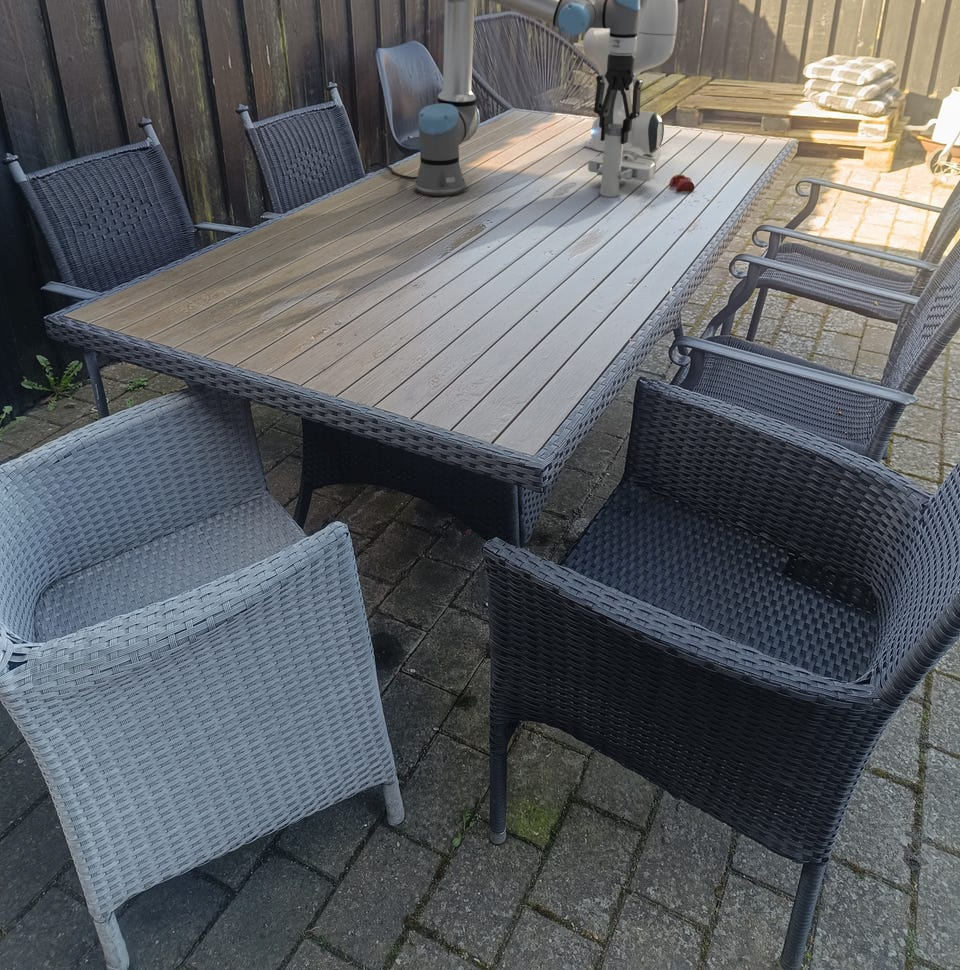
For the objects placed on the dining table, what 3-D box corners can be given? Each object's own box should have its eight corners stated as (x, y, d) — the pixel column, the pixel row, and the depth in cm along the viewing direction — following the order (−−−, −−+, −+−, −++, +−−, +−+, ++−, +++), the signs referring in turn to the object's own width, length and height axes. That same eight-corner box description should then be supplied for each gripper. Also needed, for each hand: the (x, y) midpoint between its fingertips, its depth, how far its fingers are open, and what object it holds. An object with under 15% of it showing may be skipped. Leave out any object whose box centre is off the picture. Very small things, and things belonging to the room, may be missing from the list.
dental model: (685, 170, 259) (697, 178, 253) (684, 184, 262) (695, 192, 256) (668, 172, 258) (679, 180, 252) (667, 186, 261) (678, 194, 255)
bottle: (621, 193, 256) (627, 127, 244) (613, 198, 252) (619, 131, 241) (605, 190, 258) (610, 124, 247) (597, 195, 254) (602, 128, 243)
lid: (608, 129, 248) (609, 122, 247) (628, 131, 246) (629, 125, 244) (600, 133, 244) (601, 127, 243) (620, 136, 241) (621, 129, 240)
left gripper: (584, 52, 234) (579, 139, 248) (647, 58, 226) (637, 148, 239) (597, 48, 239) (591, 134, 253) (659, 54, 231) (649, 143, 244)
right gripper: (600, 148, 263) (579, 158, 253) (661, 157, 254) (642, 168, 244) (598, 169, 267) (578, 179, 257) (658, 179, 257) (639, 190, 248)
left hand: (614, 141), depth 246 cm, fingers closed on lid, 6 cm apart
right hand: (609, 174), depth 251 cm, fingers closed on bottle, 5 cm apart
